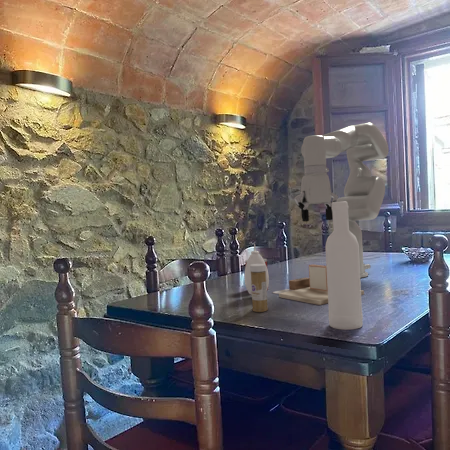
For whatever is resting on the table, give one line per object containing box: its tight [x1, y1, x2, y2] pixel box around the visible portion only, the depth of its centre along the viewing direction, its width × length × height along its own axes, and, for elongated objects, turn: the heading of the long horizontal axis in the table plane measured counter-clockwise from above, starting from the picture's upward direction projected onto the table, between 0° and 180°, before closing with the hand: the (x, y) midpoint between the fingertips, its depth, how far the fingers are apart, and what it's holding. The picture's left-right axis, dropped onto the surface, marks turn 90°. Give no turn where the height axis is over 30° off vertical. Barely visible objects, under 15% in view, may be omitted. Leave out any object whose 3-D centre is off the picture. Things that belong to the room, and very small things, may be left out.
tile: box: [308, 263, 328, 291], centre depth 150 cm, size 2×8×8 cm, turn 34°
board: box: [278, 287, 365, 306], centre depth 146 cm, size 20×18×1 cm
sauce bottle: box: [244, 242, 270, 296], centre depth 148 cm, size 8×8×18 cm
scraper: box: [271, 277, 310, 295], centre depth 157 cm, size 15×5×4 cm, turn 124°
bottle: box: [324, 201, 364, 331], centre depth 109 cm, size 8×8×30 cm
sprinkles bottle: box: [250, 264, 269, 313], centre depth 130 cm, size 5×5×13 cm
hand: (317, 220), depth 158 cm, fingers open, 9 cm apart
